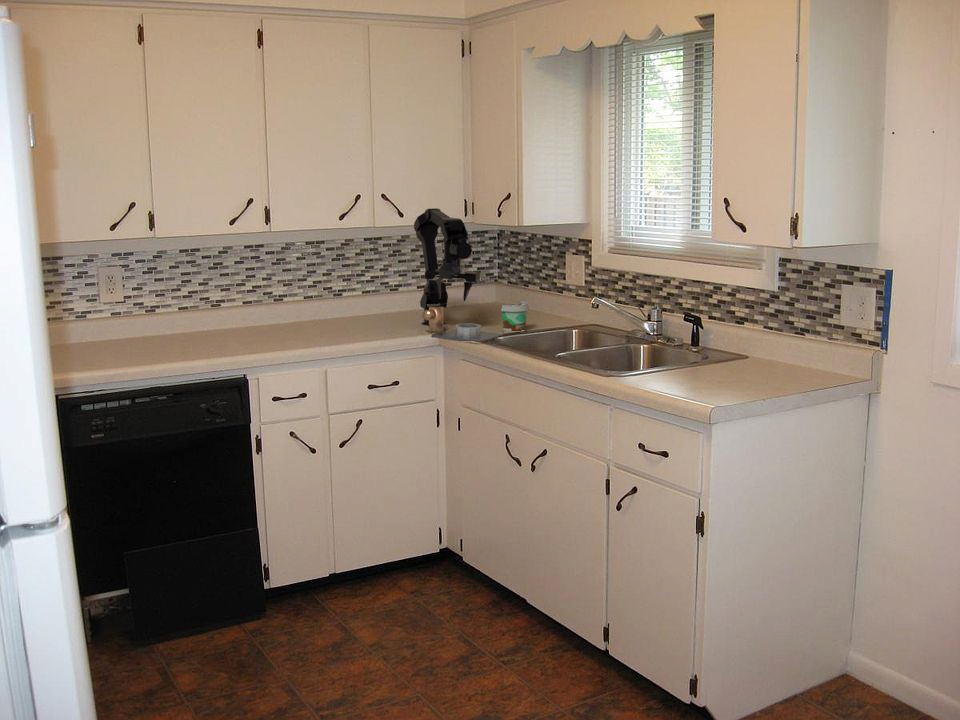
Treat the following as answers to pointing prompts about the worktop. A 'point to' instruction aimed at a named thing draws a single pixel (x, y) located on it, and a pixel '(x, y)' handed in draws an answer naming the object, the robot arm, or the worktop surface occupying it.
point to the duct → (466, 333)
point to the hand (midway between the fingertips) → (452, 299)
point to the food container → (514, 316)
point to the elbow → (434, 318)
